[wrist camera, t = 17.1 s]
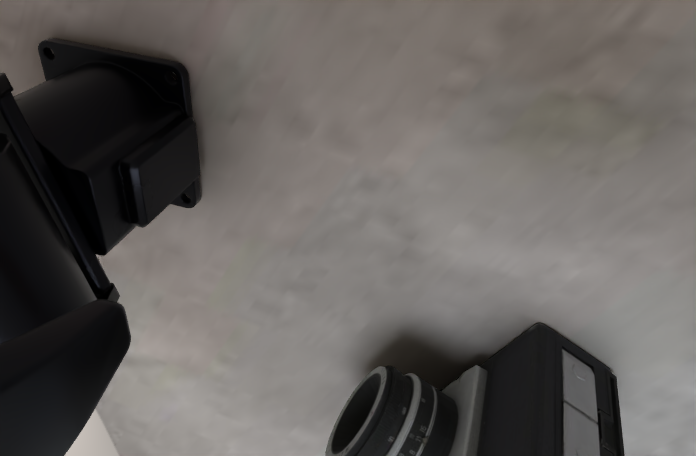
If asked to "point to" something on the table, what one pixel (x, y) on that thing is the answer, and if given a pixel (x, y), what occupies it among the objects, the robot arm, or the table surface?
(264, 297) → the table surface
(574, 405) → the camera
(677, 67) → the table surface
